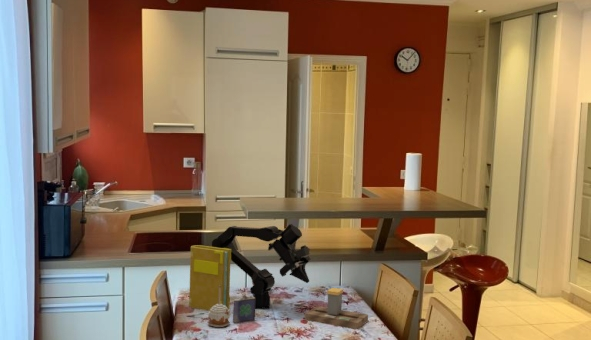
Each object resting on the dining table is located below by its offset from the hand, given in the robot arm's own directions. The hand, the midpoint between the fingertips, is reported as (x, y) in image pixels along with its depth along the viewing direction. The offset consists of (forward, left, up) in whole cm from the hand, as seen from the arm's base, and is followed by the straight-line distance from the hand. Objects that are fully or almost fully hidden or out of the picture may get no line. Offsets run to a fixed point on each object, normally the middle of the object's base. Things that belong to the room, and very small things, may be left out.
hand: (308, 282), depth 234 cm
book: (-38, +15, -14) cm, 43 cm away
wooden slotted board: (+10, -8, -13) cm, 18 cm away
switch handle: (+9, -7, -12) cm, 17 cm away
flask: (-26, -4, -14) cm, 30 cm away
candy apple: (-36, -7, -14) cm, 40 cm away
